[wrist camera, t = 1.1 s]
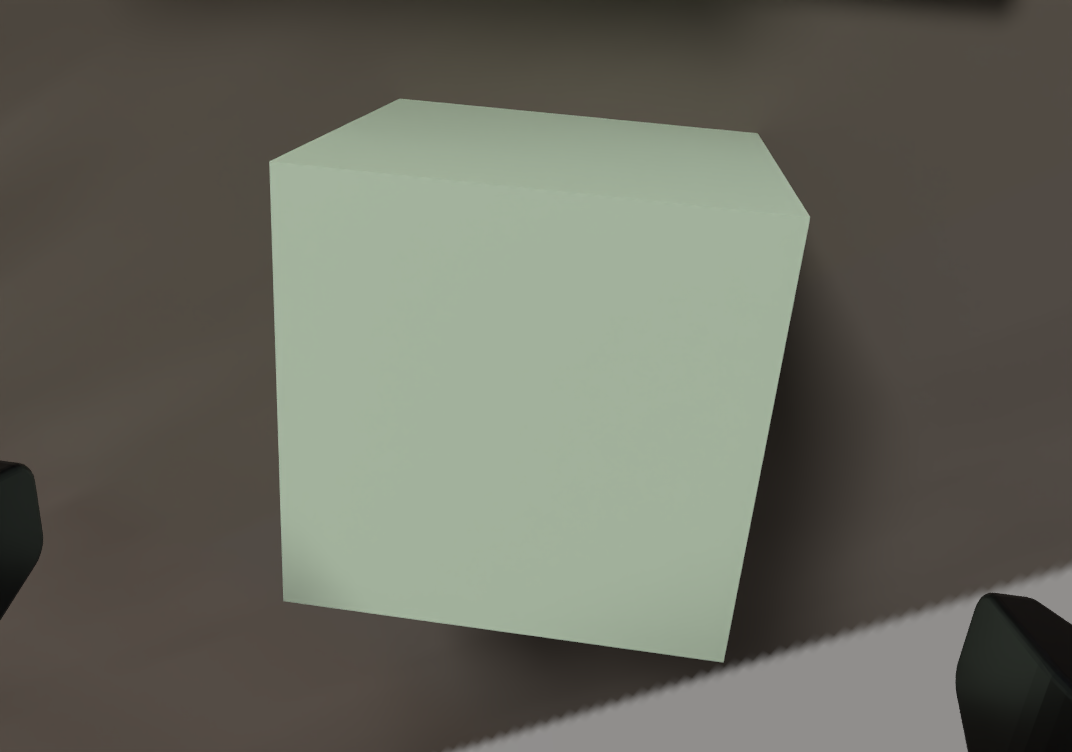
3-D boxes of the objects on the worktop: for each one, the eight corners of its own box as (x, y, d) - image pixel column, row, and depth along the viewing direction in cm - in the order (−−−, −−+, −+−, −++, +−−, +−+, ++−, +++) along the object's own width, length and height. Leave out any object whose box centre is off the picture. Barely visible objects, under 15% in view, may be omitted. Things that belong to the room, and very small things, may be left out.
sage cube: (757, 132, 16) (810, 216, 10) (703, 454, 18) (723, 662, 13) (401, 98, 16) (268, 161, 11) (393, 416, 19) (283, 600, 13)
